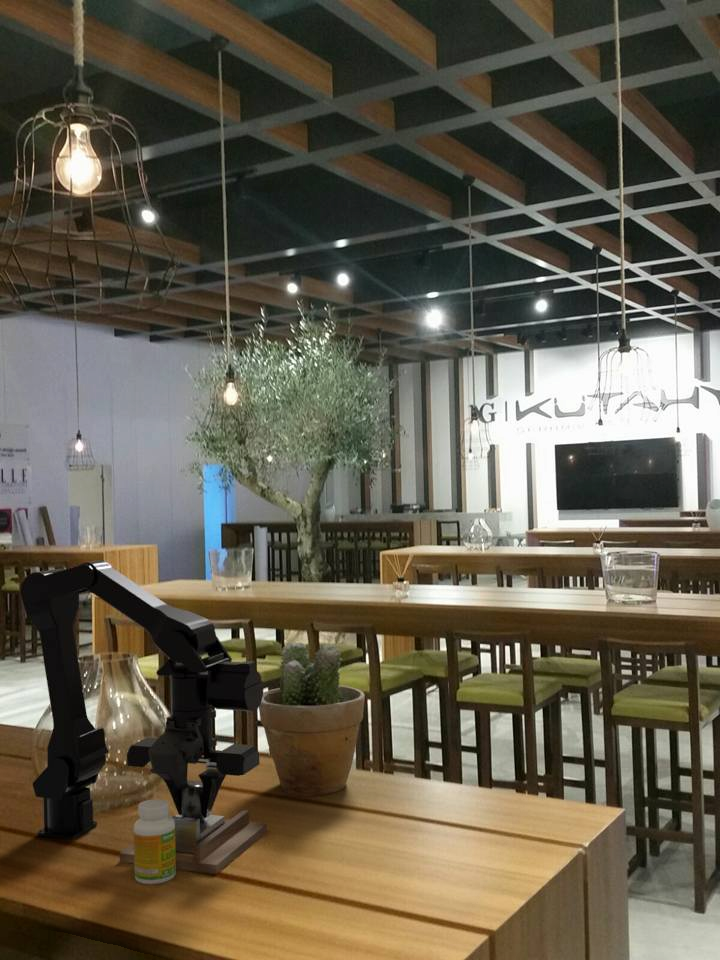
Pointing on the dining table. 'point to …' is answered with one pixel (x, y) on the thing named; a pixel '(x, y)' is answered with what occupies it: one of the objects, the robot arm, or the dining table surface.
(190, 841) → the metal press slider
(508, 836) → the dining table surface
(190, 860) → the press bed
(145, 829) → the supplement bottle
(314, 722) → the potted plant
